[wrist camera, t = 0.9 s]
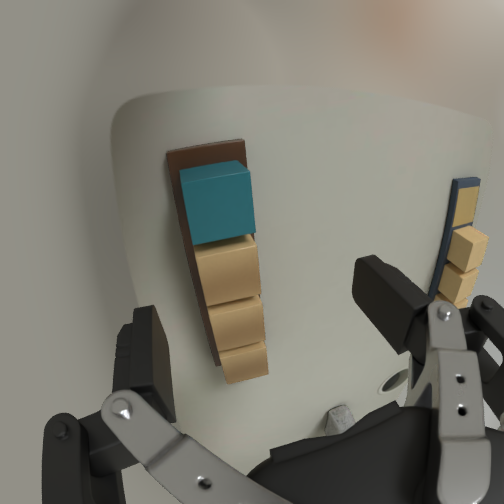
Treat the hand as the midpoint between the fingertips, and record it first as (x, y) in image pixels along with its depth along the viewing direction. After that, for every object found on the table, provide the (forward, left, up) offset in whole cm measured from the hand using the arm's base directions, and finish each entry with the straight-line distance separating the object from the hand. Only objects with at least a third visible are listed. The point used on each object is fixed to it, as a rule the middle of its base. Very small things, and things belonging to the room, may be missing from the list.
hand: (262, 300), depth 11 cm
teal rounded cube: (0, 0, -14) cm, 14 cm away
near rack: (+8, 0, -15) cm, 17 cm away
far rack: (+14, +33, -15) cm, 39 cm away
